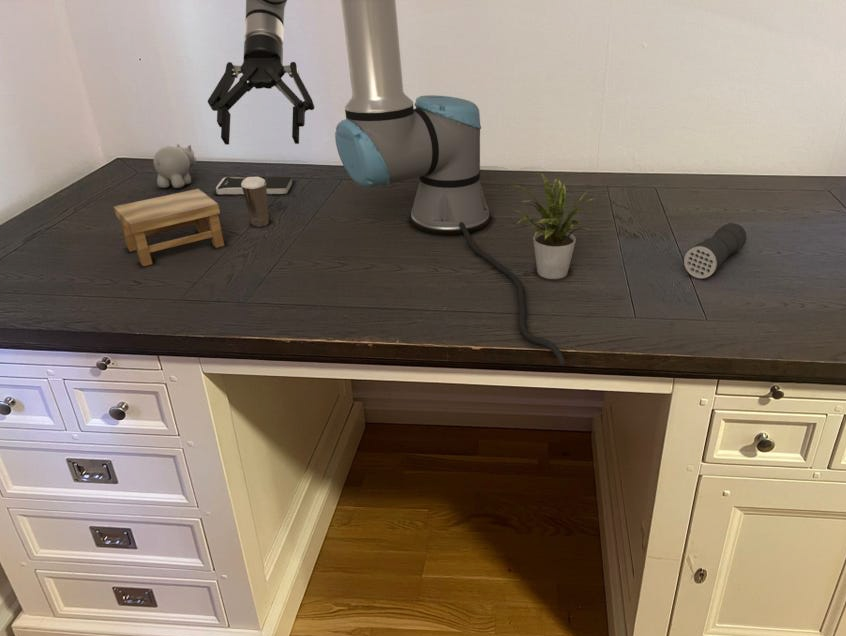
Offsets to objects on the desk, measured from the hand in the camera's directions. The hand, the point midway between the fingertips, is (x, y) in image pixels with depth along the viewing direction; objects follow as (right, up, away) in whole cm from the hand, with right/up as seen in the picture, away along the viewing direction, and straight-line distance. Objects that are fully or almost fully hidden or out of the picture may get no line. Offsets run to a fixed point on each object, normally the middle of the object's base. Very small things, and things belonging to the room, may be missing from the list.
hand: (260, 140), depth 139 cm
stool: (-12, -22, -10) cm, 27 cm away
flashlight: (+84, -26, -15) cm, 89 cm away
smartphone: (-6, -5, +17) cm, 19 cm away
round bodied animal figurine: (-24, -3, +20) cm, 31 cm away
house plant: (+54, -27, -17) cm, 63 cm away
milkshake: (0, -16, 0) cm, 16 cm away
